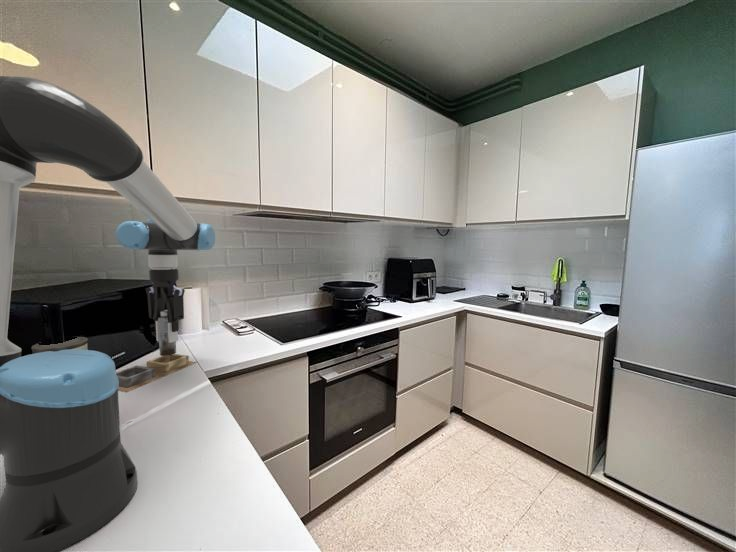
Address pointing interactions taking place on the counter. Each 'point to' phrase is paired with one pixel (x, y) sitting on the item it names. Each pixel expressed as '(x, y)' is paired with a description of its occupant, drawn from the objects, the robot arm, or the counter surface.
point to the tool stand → (151, 371)
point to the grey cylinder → (165, 335)
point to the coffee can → (62, 345)
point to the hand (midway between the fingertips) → (167, 340)
